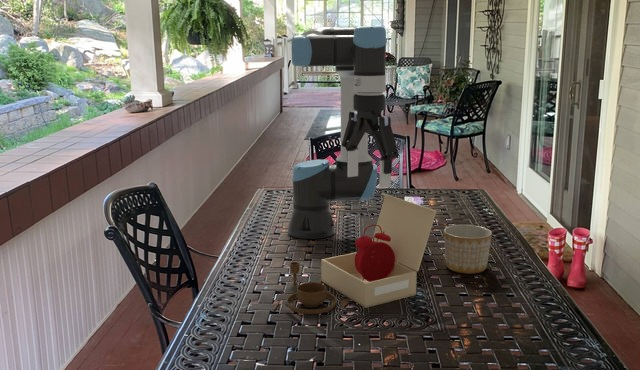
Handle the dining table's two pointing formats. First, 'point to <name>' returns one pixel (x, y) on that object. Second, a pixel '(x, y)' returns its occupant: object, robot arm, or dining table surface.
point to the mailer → (367, 294)
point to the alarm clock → (374, 257)
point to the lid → (405, 229)
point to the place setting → (310, 295)
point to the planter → (467, 248)
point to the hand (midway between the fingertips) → (368, 181)
